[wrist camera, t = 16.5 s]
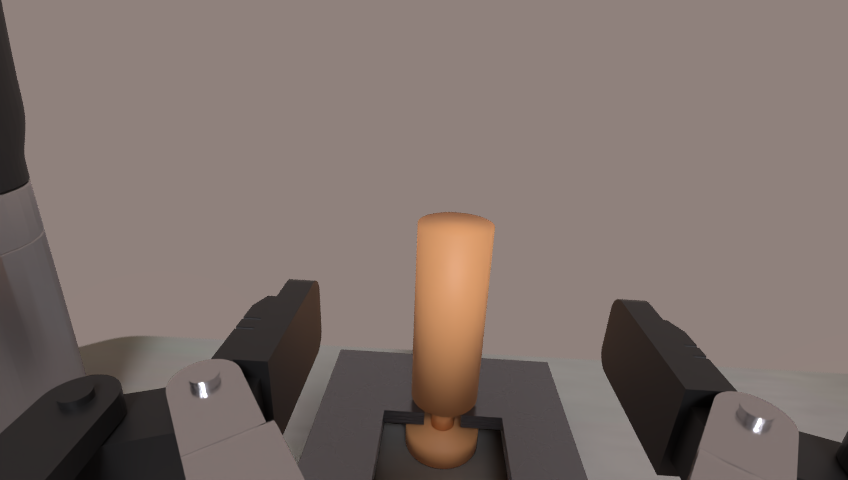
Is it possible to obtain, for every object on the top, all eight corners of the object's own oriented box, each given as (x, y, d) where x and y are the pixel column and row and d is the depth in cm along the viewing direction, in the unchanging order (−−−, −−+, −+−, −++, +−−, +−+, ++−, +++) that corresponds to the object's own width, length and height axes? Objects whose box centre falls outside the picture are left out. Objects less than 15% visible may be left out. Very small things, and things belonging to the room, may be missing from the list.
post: (450, 482, 28) (469, 247, 22) (390, 442, 31) (394, 224, 25) (489, 435, 32) (515, 223, 26) (433, 403, 35) (445, 205, 29)
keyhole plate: (609, 638, 21) (625, 589, 19) (268, 611, 21) (261, 561, 20) (541, 398, 36) (547, 362, 34) (342, 386, 36) (340, 349, 35)
